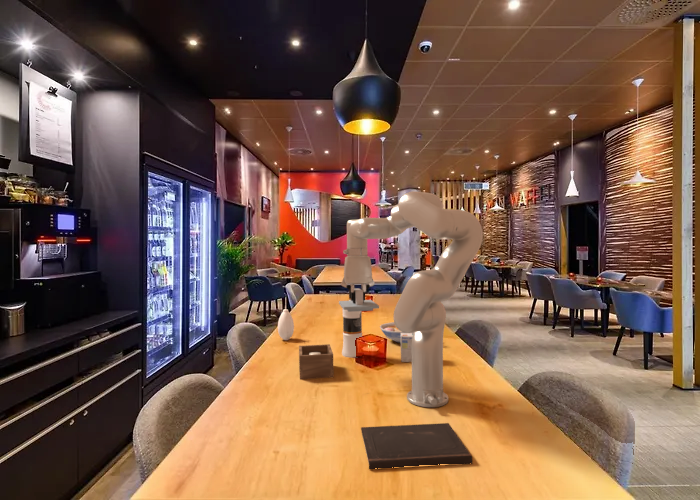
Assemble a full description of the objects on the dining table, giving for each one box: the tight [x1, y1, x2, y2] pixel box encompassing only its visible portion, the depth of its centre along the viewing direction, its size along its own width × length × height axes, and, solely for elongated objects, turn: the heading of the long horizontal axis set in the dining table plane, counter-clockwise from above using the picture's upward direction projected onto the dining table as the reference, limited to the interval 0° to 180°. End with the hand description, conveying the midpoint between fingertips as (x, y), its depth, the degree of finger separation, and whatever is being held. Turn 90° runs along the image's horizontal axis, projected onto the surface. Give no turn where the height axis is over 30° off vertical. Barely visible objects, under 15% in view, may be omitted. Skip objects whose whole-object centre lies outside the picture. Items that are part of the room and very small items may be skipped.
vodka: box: [341, 286, 363, 358], centre depth 169 cm, size 9×9×30 cm
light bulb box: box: [400, 333, 413, 363], centre depth 163 cm, size 11×7×11 cm, turn 84°
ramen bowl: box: [379, 321, 404, 344], centre depth 193 cm, size 25×23×8 cm
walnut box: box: [298, 343, 335, 380], centre depth 147 cm, size 14×12×9 cm
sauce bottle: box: [277, 304, 295, 341], centre depth 199 cm, size 8×8×18 cm
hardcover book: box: [360, 422, 473, 470], centre depth 94 cm, size 16×23×2 cm
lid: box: [338, 288, 380, 312], centre depth 146 cm, size 15×13×7 cm
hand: (358, 302), depth 146 cm, fingers closed on lid, 2 cm apart
